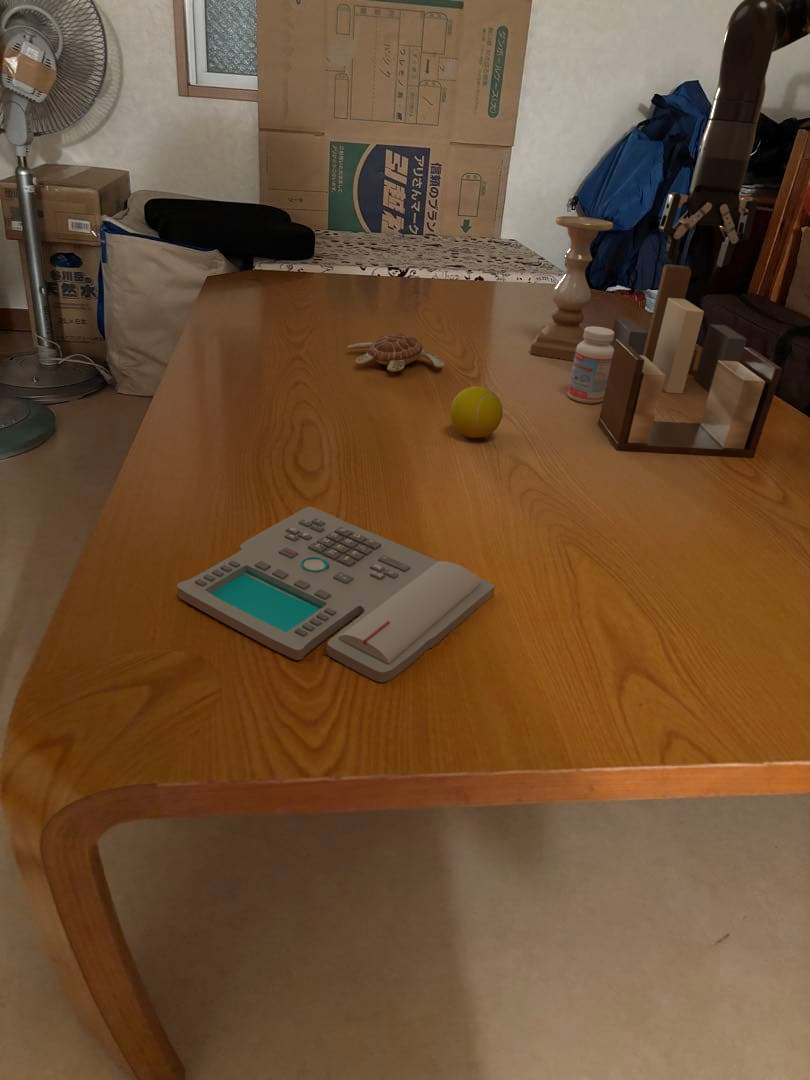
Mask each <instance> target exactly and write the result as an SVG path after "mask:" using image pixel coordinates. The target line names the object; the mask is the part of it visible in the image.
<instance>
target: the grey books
mask: <svg viewBox="0 0 810 1080" xmlns="http://www.w3.org/2000/svg"><path fill="white" fill-rule="evenodd" d="M612 331H614V338H613V341H612V342H611V343H610V345H611V346H612V347H613V348H615V343H616V339H623V340H624V341H625V342H626V343H627V344H628V345H629V346H630V347H631V348H632V349H633V350H634V351H636V352H637V353H638V354H639V355H643V354H644V349H645V345H646V341H647V337H648V332H649V331H647V330H646V329H644V327H642V326H641V325H640V324H638V323H637V322H636V321H635V320H634V319H633V318H625V317H624V318H623V317H615V319H614V322H613V328H612ZM747 341H748V339H747V338H746V337H745V336H743V335H742V334H740V333H738V332H736V331H735V330H733V329H732V328H731V327H729V326H727V325H726V324H714V323H708V327H707V331H706V335H705V339H704V341H703V346H702V350H701V353H700V357H699V360H698V364H697V368H696V372H695V376H694V380H695V381H696V382H697V383H699V384H700V385H701V386H702V387H703V388H704V389H706V390H707V392H710V388H711V385H712V381H713V378H714V374H715V371H716V367H717V364H718V361H719V360H721V361H737V362H739V363H740V360H741V356H742V353H743V350H744V347H746V344H747Z"/></svg>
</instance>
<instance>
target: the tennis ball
mask: <svg viewBox="0 0 810 1080" xmlns="http://www.w3.org/2000/svg"><path fill="white" fill-rule="evenodd" d="M449 414H450V419H451V423H452V426H453V428H455V430H456V431H457V432H458V433H459V434H461V435H463V436H465V437H466V438H469V439H482V438H486V437H488V436H489V435H491V434H493V433H494V432H495V431H496V430H497V429H498V427H499V426H500V424H501V421H502V420H503V419H502V418H503V405H502V402H501V400H500V398H499V396H498V395H497V394H496V393H495V392H493V391H492V390H491V389H488V388H486V387H483V386H478V385H477V386H475V385H473V386H469V387H466V388H464V389H462V390H461V391H459V392H458V393H457V394H456V396H455V397H454V398H453V400H452V403H451V406H450V413H449Z"/></svg>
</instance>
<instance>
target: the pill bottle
mask: <svg viewBox="0 0 810 1080" xmlns="http://www.w3.org/2000/svg"><path fill="white" fill-rule="evenodd" d="M583 330H584V334H583V336H584V337H583V338H584V341H582V342H580V343H579V344H578V345H577V348H576V352H575V357H574V361H572V367H571V372H570V378H569V384H568V388H567V396H568V397H569V398H570V399H571V400H573V401H576V402H577V403H581V404H588V405H592V404H593V405H594V404H599V403H603V399H604V394H605V390H606V385H607V380H608V376H609V371H610V366H611V362H612V357H613V352H614V348H613V347H612V346H611V345H610V343H611V342H612V341H613V338H614V331H613V329H610V328H607V327H602V326H593V325H591V326H586V327H585V328H584V329H583Z"/></svg>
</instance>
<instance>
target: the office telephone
mask: <svg viewBox="0 0 810 1080" xmlns="http://www.w3.org/2000/svg"><path fill="white" fill-rule="evenodd" d="M176 585H177V586H176V588H177V597H178V598H179V599H180V600H182V601H184V602H186V603H187V604H189V605H191V606H192V607H195V608H196V609H198V610H200V611H201V612H203V613H205V614H208V615H209V616H210V617H212V618H214V619H215V620H218V621H219V622H221V623H223V624H225V625H227V626H229V627H230V628H232V629H234V630H235V631H237V632H240V633H241V634H244V635H245V636H247V637H249V638H251V639H253V640H255V641H256V642H258V643H260V644H262V645H264V646H266V647H267V648H269V649H271V650H273V651H275V652H277V653H279V654H282V655H284V656H286V657H288V658H289V659H291V660H294V661H300V660H303V659H304V658H305V656H306V655H308V653H309V652H311V651H312V650H314V649H315V648H316V647H318V646H319V645H320V644H321V643H322V642H324V641H325V640H326V639H328V638H329V637H331V636H332V635H333V634H335V633H336V632H337V631H339V630H340V629H341V628H342V627H344V626H345V625H347V624H348V623H349V624H348V625H347V626H345V627H344V628H342V629H341V630H340V631H339V632H338V633H336V634H335V635H334V636H332V637H331V638H330V639H329V640H328V641H327V645H326V654H327V656H328V657H329V658H332V659H333V660H335V661H337V662H338V663H340V664H341V665H344V666H346V667H347V668H349V669H352V670H353V671H354V672H355V671H356V672H357V673H359V674H361V675H363V676H365V677H367V678H368V679H370V680H373V681H375V682H376V683H377V682H378V683H386V682H389V681H391V680H393V679H394V678H395V677H396V676H398V675H399V674H401V673H402V672H404V671H405V670H406V669H407V668H408V667H409V666H411V665H412V664H413V663H415V662H416V661H417V660H418V659H419V658H420V657H422V655H423V654H424V653H426V651H428V650H429V649H430V650H431V649H432V648H434V647H435V646H436V645H437V644H438V643H439V642H441V641H442V640H443V639H445V637H446V636H447V635H449V634H450V633H451V632H453V631H454V630H455V629H456V628H457V627H458V626H459V625H460V624H462V623H463V622H464V621H465V620H466V619H467V618H469V617H470V616H471V615H472V614H473V613H474V612H475V611H477V610H479V608H480V607H481V606H482V605H484V604H485V603H486V602H488V600H490V599H491V598H493V597H494V595H495V589H496V585H495V584H494V583H492V582H490V581H488V580H485V579H483V578H481V577H478V576H477V575H476V574H475V572H473V571H471V570H470V569H468V568H466V567H465V566H463V565H460V564H457V563H454V562H451V561H447V560H437V559H436V558H433V557H430V556H428V555H425V554H423V553H421V552H418V551H417V550H414V549H411V548H409V547H406V546H404V545H402V544H399V543H397V542H395V541H392V540H390V539H387V538H386V537H382V536H381V535H378V534H375V533H373V532H371V531H369V530H366V529H363V528H361V527H359V526H356V525H354V524H351V523H350V522H347V521H344V520H342V519H340V518H338V517H337V516H335V515H332V514H331V513H328V512H326V511H323V510H321V509H318V508H316V507H313V506H311V505H310V506H306V507H304V508H302V509H300V510H299V511H297V512H295V513H293V514H291V515H289V516H288V517H286V518H284V519H282V520H281V521H279V522H276V523H274V524H273V525H271V526H270V527H268V528H266V529H265V530H262V531H261V532H259V533H257V534H255V535H253V536H252V537H249V538H248V539H246V540H245V541H244V542H242V543H241V544H240V546H239V550H238V551H237V552H236V553H234V554H233V555H230V556H229V557H227V558H225V559H224V560H221V561H220V562H219V563H216V564H215V565H213V566H211V567H209V568H208V569H206V570H205V571H202V572H200V573H199V574H197V575H194V576H193V577H191V578H188V579H187V580H183V581H179V582H178V583H177V584H176ZM350 621H352V622H350Z"/></svg>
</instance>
